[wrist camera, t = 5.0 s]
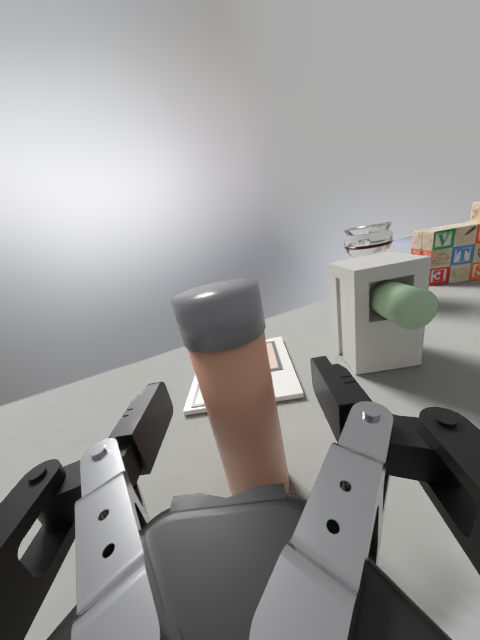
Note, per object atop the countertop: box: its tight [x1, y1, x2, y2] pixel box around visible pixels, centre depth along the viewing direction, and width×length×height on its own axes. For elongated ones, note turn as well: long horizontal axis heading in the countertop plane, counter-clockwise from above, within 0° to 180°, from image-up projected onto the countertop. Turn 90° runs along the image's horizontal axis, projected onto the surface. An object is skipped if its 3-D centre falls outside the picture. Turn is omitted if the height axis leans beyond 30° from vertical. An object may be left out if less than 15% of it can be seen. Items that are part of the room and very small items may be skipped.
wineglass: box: [344, 222, 393, 258], centre depth 37 cm, size 7×7×12 cm
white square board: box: [183, 337, 304, 415], centre depth 26 cm, size 11×12×1 cm
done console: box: [328, 252, 431, 375], centre depth 23 cm, size 6×6×10 cm
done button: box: [369, 280, 438, 330], centre depth 18 cm, size 3×4×3 cm
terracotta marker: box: [171, 279, 290, 496], centre depth 12 cm, size 4×4×12 cm
